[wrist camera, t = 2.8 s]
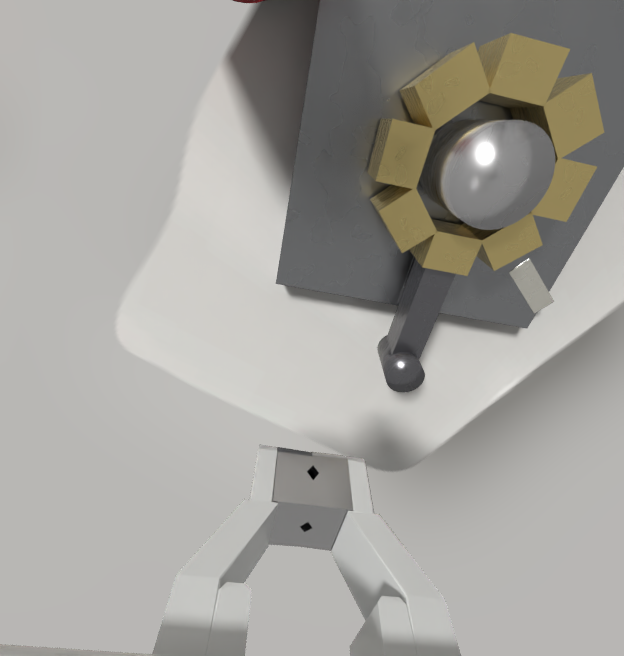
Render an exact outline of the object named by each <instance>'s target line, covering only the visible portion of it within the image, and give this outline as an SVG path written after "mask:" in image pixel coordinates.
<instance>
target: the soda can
mask: <svg viewBox="0 0 624 656" xmlns="http://www.w3.org/2000/svg"><path fill="white" fill-rule="evenodd" d="M233 1H237V2H242V3H257V2H261V1H265V0H233Z"/></svg>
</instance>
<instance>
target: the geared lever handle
mask: <svg viewBox="0 0 624 656" xmlns="http://www.w3.org/2000/svg"><path fill="white" fill-rule="evenodd" d="M569 51H570V49H569V48H565V47H561V46H558V45H554V44H550V43H547V42H543V41H539V40H535V39H532V38H528V37H524V36H521V35H517V34H513V33H510V34H507V35H505V36H503V37H500V38H498V39H495V40H493V41H491V42H488V43H486V44H484V45H481V46H480V47H479V50H478V52H477V49H476V46H475V43H474V42H473V43H471V44H468V45H466V46H464V47H462V48H460V49H458V50H456V51H453V52H451V53H449V54H448V55H446V56H445V57H444V58H442V59H441V60H440V61H438V62H437V63H436V64H434V65H433V66H432V67H430V68H429V69H428V70H426V71H425V72H424V73H422V74H421V75H420V76H418V77H417V78H415V79H414V80H413V81H411V82H410V83H409V84H407V85H406V86H405V87H403V88H402V89H401V90H399V91H400V93H401V95H402V98H403V100H404V102H405V104H406V106H407V109H408V111H409V113H410V115H411V118H412V120H413V122H414V124H413V123H409V122H405V121H400V120H396V119H381V120H380V124H379V128H378V132H377V136H376V140H375V144H374V148H373V152H372V156H371V160H370V164H369V167H368V171H367V173H368V174H369V175H370V176H371V177H372V178H373V179H374V180H375V181H378V182H382V183H387V184H392V185H391V186H389V187H388V188H386V189H385V190H383V191H382V192H380V193H379V194H377V195H376V196H374V197H373V198H371V199H370V200H371V202H372V204H373V205H374V207H375V209H376V211H377V212H378V214H379V216H380V218H381V220H382V221H383V223H384V225H385V227H386V229H387V230H388V232H389V234H390V236H391V237H392V239H393V240H394V242H395V243H396V245H397V246H398V248H399V249H400V251H401V252H402V253H403V252H405V251H407V250H410V251H411V253H412V254H413V256H414V257H415V261H414V264H413V267H412V269H411V272H410V275H409V278H408V280H407V283H406V286H405V289H404V291H403V294H402V297H401V300H400V302H399V305H398V308H397V311H396V313H395V316H394V319H393V322H392V324H391V327H390V330H389V333H388V335H387V336H385V337H384V338H382V339H381V341H380V342H379V344H378V354H379V357H380V361H381V364H382V368H383V371H384V375H385V378H386V382H387V384H388V386H389V387H390V388H391V389H392V390H394V391H397V392H409V391H412V390H414V389H416V388H418V387H419V386H420V385H421V384H422V382H423V380H424V377H425V373H424V370H423V368H422V366H421V364H420V361H419V358H420V356H421V353H422V351H423V349H424V346H425V344H426V342H427V339H428V337H429V335H430V333H431V330H432V328H433V326H434V323H435V321H436V319H437V316H438V314H439V312H440V310H441V307H442V305H443V303H444V300H445V298H446V296H447V294H448V291H449V289H450V287H451V284H452V282H453V280H454V277H455V275H456V274H460V275H465V276H468V273H469V271H470V269H471V267H472V265H473V262H474V260H475V258H476V256H477V257H478V258H479V259H480V260H482V261H483V262H484V263H485V264H486V265H487V266H489V267H490V268H491V269H492V270H493V271H495V270H497V269H499V268H501V267H503V266H505V265H507V264H508V263H510V262H512V261H514V260H516V259H518V258H520V257H521V256H523V255H525V254H527V253H529V252H531V251H533V250H535V249H536V248H538V247H540V246H542V245H543V244H542V241H541V238H540V235H539V232H538V229H537V226H536V223H535V220H534V217H533V215H536V216H541V217H546V218H550V219H555V220H560V221H564V222H567V220H568V218H569V216H570V215H571V213H572V211H573V209H574V208H575V206H576V204H577V202H578V201H579V199H580V197H581V195H582V193H583V192H584V190H585V188H586V186H587V185H588V183H589V181H590V179H591V177H592V176H593V174H594V172H595V170H596V169H597V166H592V165H588V164H584V163H580V162H575V161H571V160H567V159H563V158H562V157H564V156H566V155H568V154H569V153H571V152H573V151H574V150H576V149H578V148H579V147H581V146H583V145H584V144H586V143H588V142H589V141H591V140H593V139H594V138H596V137H598V136H599V135H601V134H603V133H604V128H603V123H602V119H601V114H600V109H599V104H598V100H597V95H596V90H595V85H594V81H593V76H592V73H589V74H582V75H576V76H570V77H563V78H558V75H559V73H560V71H561V69H562V67H563V64H564V62H565V60H566V58H567V56H568V53H569ZM478 100H480V101H484V102H488V103H492V104H496V105H500V106H504V107H508V108H510V111H511V114H512V117H513V120H523V121H528V122H531V123H534V124H536V125H537V126H539V127H540V128H542V129H543V130H544V131H545V132H546V134H547V135H548V136H549V138H550V140H551V141H552V144H553V147H554V152H555V169H554V174H553V178H552V181H551V184H550V186H549V188H548V190H547V192H546V193H545V195H544V197H543V198H542V200H541V201H540V202H539V204H538V205H537V206H536V207H535V208H534V209H533V210H532V211H531V212H530V213H529V214H528V215H526V216H525V217H524V218H522V219H521V220H519V221H517V222H516V223H514V224H512V225H509V226H507V227H504V228H500V229H494V230H483V229H477V228H474V227H472V226H469V225H468V224H466V223H464V224H462V225H458V224H453V223H448V222H443V221H438V220H433V219H431V218H430V216H429V214H428V212H427V210H426V208H425V206H424V204H423V202H422V199H421V197H420V195H419V193H418V191H417V189H416V187H417V184H418V181H419V178H420V175H421V172H422V169H423V166H424V163H425V160H426V157H427V154H428V151H429V148H430V145H431V142H432V139H433V136H434V133H435V130H436V129H438V128H439V127H441V126H442V125H444V124H445V123H446V122H448V121H449V120H451V119H452V118H454V117H455V116H457V115H458V114H460V113H461V112H462V111H464V110H465V109H467V108H468V107H470V106H471V105H473V104H474V103H476V102H477V101H478Z"/></svg>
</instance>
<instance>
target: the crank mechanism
mask: <svg viewBox="0 0 624 656" xmlns="http://www.w3.org/2000/svg"><path fill="white" fill-rule="evenodd" d="M510 33H513V34H517V35H521V36H524V37H528V38H532V39H535V40H539V41H543V42H547V43H550V44H554V45H558V46H561V47H565V48H569V49H570V51H569V53H568V56H567V58H566V60H565V62H564V64H563V67H562V69H561V71H560V73H559V75H558V78H563V77H570V76H576V75H582V74H589V73H592V76H593V81H594V85H595V90H596V95H597V100H598V104H599V109H600V114H601V119H602V123H603V128H604V133H603V134H601V135H599V136H598V137H596V138H594V139H593V140H591V141H589V142H588V143H586V144H584V145H583V146H581V147H579V148H578V149H576V150H574V151H573V152H571V153H569V154H568V155H566V156H564V157H562V158H563V159H567V160H571V161H575V162H580V163H584V164H588V165H592V166H597V169H596V170H595V172H594V174H593V176H592V177H591V179H590V181H589V183H588V185H587V186H586V188H585V190H584V192H583V193H582V195H581V197H580V199H579V201H578V202H577V204H576V206H575V208H574V209H573V211H572V213H571V215H570V216H569V218H568V220H567V222H564V221H560V220H555V219H550V218H546V217H541V216H536V215H533V217H534V220H535V223H536V226H537V229H538V232H539V235H540V238H541V241H542V244H543V245H542V246H540V247H538V248H536V249H535V250H533V251H531V252H529V253H527V254H525V255H523V256H521V257H520V258H518V259H516V260H514V261H512V262H510V263H508V264H507V265H505V266H503V267H501V268H499V269H497V270H495V271H493V270H492V269H491V268H490V267H489V266H487V265H486V264H485V263H484V262H483V261H482V260H480V259H479V258H478V257H477V256H476V258H475V260H474V262H473V265H472V267H471V269H470V271H469V273H468V276H465V275H460V274H456V275H455V277H454V280H453V282H452V284H451V287H450V289H449V291H448V294H447V296H446V298H445V300H444V303H443V305H442V307H441V310H440V312H439V313H444V314H449V315H455V316H460V317H466V318H472V319H477V320H483V321H488V322H494V323H500V324H505V325H511V326H517V327H522V328H528V326H529V324H530V323H531V321H532V319H533V318H534V316H535V314H536V313H537V312H538V311H539V310H541V309H543V308H544V307H546V306H548V305H550V304H551V303H553V302H554V300H553V299H552V297H551V295H550V293H549V291H550V289H551V288H552V286H553V284H554V282H555V281H556V279H557V277H558V276H559V274H560V272H561V271H562V269H563V267H564V266H565V264H566V262H567V261H568V259H569V257H570V256H571V254H572V252H573V251H574V249H575V247H576V246H577V244H578V242H579V241H580V239H581V237H582V236H583V234H584V232H585V231H586V229H587V227H588V226H589V224H590V222H591V221H592V219H593V217H594V216H595V214H596V212H597V211H598V209H599V207H600V206H601V204H602V202H603V201H604V199H605V197H606V195H607V194H608V192H609V190H610V189H611V187H612V185H613V184H614V182H615V180H616V179H617V177H618V175H619V174H620V172H621V170H622V169H623V167H624V0H320V3H319V10H318V16H317V23H316V29H315V35H314V42H313V48H312V55H311V61H310V68H309V74H308V80H307V87H306V93H305V100H304V106H303V113H302V119H301V126H300V132H299V138H298V145H297V151H296V158H295V164H294V171H293V177H292V184H291V190H290V196H289V203H288V209H287V216H286V222H285V229H284V235H283V241H282V248H281V254H280V261H279V267H278V274H277V280H276V284H281V285H287V286H292V287H298V288H303V289H309V290H315V291H320V292H326V293H331V294H337V295H343V296H348V297H354V298H360V299H365V300H371V301H376V302H382V303H388V304H393V305H399V302H400V300H401V297H402V294H403V291H404V289H405V286H406V283H407V280H408V278H409V275H410V272H411V269H412V267H413V264H414V261H415V257H414V256H413V254H412V253H411V251H410V250H407V251H405V252H403V253H402V252H401V251H400V249H399V248H398V246H397V245H396V243H395V242H394V240H393V239H392V237H391V236H390V234H389V232H388V230H387V229H386V227H385V225H384V223H383V221H382V220H381V218H380V216H379V214H378V212H377V211H376V209H375V207H374V205H373V204H372V202H371V200H370V199H371V198H373V197H374V196H376V195H377V194H379V193H380V192H382V191H383V190H385V189H386V188H388V187H389V186H391V185H392V184H387V183H382V182H378V181H375V180H374V179H373V178H372V177H371V176H370V175H369V174H368V173H367V171H368V167H369V164H370V160H371V156H372V152H373V148H374V144H375V140H376V136H377V132H378V128H379V124H380V120H381V119H396V120H400V121H405V122H409V123H413V124H414V122H413V120H412V118H411V115H410V113H409V111H408V109H407V106H406V104H405V102H404V100H403V98H402V95H401V93H400V91H399V90H401V89H402V88H403V87H405V86H406V85H407V84H409V83H410V82H411V81H413V80H414V79H415V78H417V77H418V76H420V75H421V74H422V73H424V72H425V71H426V70H428V69H429V68H430V67H432V66H433V65H434V64H436V63H437V62H438V61H440V60H441V59H442V58H444V57H445V56H446V55H448V54H449V53H451V52H453V51H456V50H458V49H460V48H462V47H464V46H466V45H468V44H471V43H473V42H474V43H475V46H476V49H477V52H478V50H479V47H480V46H481V45H484V44H486V43H488V42H491V41H493V40H495V39H498V38H500V37H503V36H505V35H507V34H510ZM554 169H555V152H554V147H553V144H552V141H551V140H550V138H549V136H548V135H547V134H546V132H545V131H544V130H543V129H542V128H540V127H539V126H537V125H536V124H534V123H531V122H528V121H523V120H513V117H512V114H511V111H510V108H508V107H504V106H500V105H496V104H492V103H488V102H484V101H480V100H478V101H477V102H476V103H474V104H473V105H471V106H470V107H468V108H467V109H465V110H464V111H462V112H461V113H460V114H458V115H457V116H455V117H454V118H452V119H451V120H449V121H448V122H446V123H445V124H444V125H442V126H441V127H439V128H438V129H436V130H435V133H434V136H433V139H432V142H431V145H430V148H429V151H428V154H427V157H426V160H425V163H424V166H423V169H422V172H421V175H420V178H419V181H418V184H417V187H416V189H417V191H418V193H419V195H420V197H421V199H422V202H423V204H424V206H425V208H426V210H427V212H428V214H429V216H430V218H431V219H433V220H438V221H443V222H448V223H453V224H458V225H462V224H464V223H466V224H468V225H469V226H472V227H474V228H477V229H483V230H494V229H500V228H504V227H507V226H509V225H512V224H514V223H516V222H517V221H519V220H521V219H522V218H524V217H525V216H526V215H528V214H529V213H530V212H531V211H532V210H533V209H534V208H535V207H536V206H537V205H538V204H539V202H540V201H541V200H542V198H543V197H544V195H545V193H546V192H547V190H548V188H549V186H550V184H551V181H552V178H553V174H554Z"/></svg>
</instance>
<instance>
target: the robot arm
mask: <svg viewBox="0 0 624 656" xmlns="http://www.w3.org/2000/svg"><path fill="white" fill-rule="evenodd" d="M269 544H271V545H285V546H300V547H307V548H314V549H322V550H330V551H331V554H332V556H333V558H334V560H335V562H336V563H337V566H338V568H339V570H340V572H341V573H342V575H343V577H344V579H345V581H346V583H347V585H348V587H349V589H350V591H351V593H352V595H353V597H354V599H355V601H356V603H357V605H358V607H359V609H360V611H361V612H362V615H363V617H364V618H365V620H366V622H365V623H364V625H363V626H362V628H361V630H360V631H359V633H358V634H357V636H356V638H355V639H354V641H353V642H352V644H351V645H350V656H461V654H460V650H459V647H458V643H457V640H456V636H455V633H454V629H453V626H452V622H451V619H450V615H449V612H448V608H447V605H446V601H445V599H444V598H443V597H442V595H441V594H440V593H439V591H438V590H437V589H436V587H435V586H434V585H433V584H432V582H431V581H430V580H429V578H428V577H427V576H426V574H425V573H424V572H423V570H422V569H421V568H420V566H419V565H418V564H417V563H416V561H415V560H414V559H413V557H412V556H411V555H410V553H409V552H408V551H407V550H406V548H405V547H404V546H403V544H402V543H401V542H400V540H399V539H398V538H397V537H396V535H395V534H394V533H393V531H392V530H391V529H390V527H389V526H388V525H387V523H386V522H385V521H384V520H383V518H382V517H381V516H380V515H379V514H374V509H373V504H372V498H371V493H370V486H369V480H368V474H367V468H366V462H365V460H364V459H363V458H356V457H348V456H346V457H345V456H343V455H334V454H326V453H317V452H305V451H299V450H293V449H286V448H280V447H278V448H277V447H272V446H266V445H259V448H258V453H257V459H256V464H255V471H254V476H253V482H252V488H251V494H250V499H244V500H243V501H242V502H241V504H240V505H239V506H238V507H237V508H236V509H235V510H234V511H233V512H232V514H231V515H230V516H229V517H228V518H227V519H226V520H225V521H224V522H223V523H222V525H221V526H220V527H219V528H218V529H217V530H216V531H215V532H214V534H213V535H212V536H211V537H210V538H209V539H208V540H207V541H206V542H205V544H204V545H203V546H202V547H201V548H200V549H199V550H198V551H197V552H196V553H195V555H194V556H193V557H192V558H191V559H190V560H189V561H188V562H187V564H186V565H185V566H184V567H183V568H182V570H180V571H179V572H178V574H177V575H176V578H175V581H174V584H173V587H172V591H171V594H170V597H169V601H168V604H167V607H166V610H165V614H164V617H163V620H162V624H161V627H160V631H159V634H158V637H157V641H156V644H155V647H154V650H153V654H137V653H136V654H135V653H122V652H107V651H92V650H77V649H62V648H47V647H32V646H16V645H2V644H0V656H245V648H246V639H247V630H248V622H249V613H250V604H251V595H252V590H251V589H250V588H249V586H248V585H247V584H246V583H244V582H245V581H246V579H247V577H248V576H249V575H250V573H251V572H252V570H253V569H254V567H255V566H256V564H257V563H258V561H259V560H260V558H261V557H262V555H263V554H264V552H265V550H266V549H267V548H268V545H269Z"/></svg>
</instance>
